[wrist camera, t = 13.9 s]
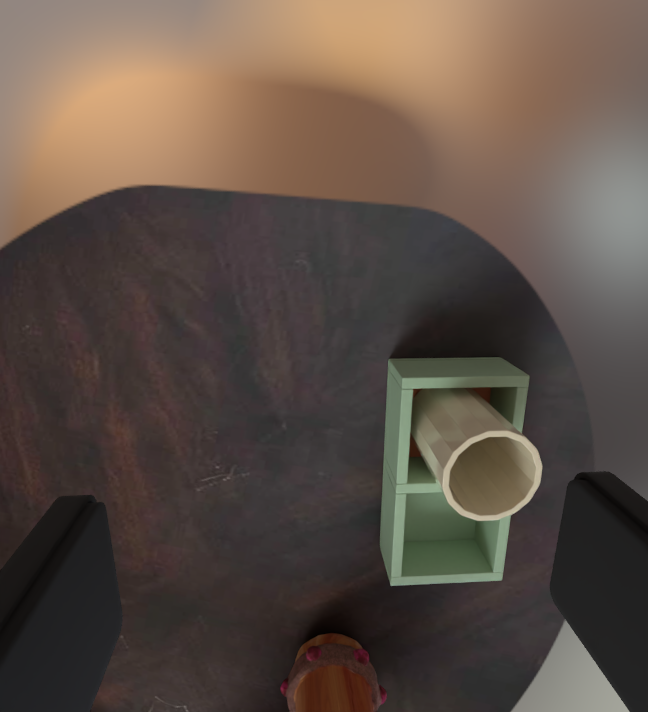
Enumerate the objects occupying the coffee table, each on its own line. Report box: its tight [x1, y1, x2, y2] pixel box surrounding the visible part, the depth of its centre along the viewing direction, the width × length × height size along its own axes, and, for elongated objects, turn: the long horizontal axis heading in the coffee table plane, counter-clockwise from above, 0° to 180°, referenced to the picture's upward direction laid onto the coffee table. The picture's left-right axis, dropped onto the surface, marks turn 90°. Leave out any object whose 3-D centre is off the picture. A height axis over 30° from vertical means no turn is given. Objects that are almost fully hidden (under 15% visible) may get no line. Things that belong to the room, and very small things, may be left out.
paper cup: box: [410, 388, 542, 521], centre depth 32 cm, size 6×6×9 cm
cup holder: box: [380, 357, 530, 586], centre depth 36 cm, size 17×9×5 cm, turn 0°
